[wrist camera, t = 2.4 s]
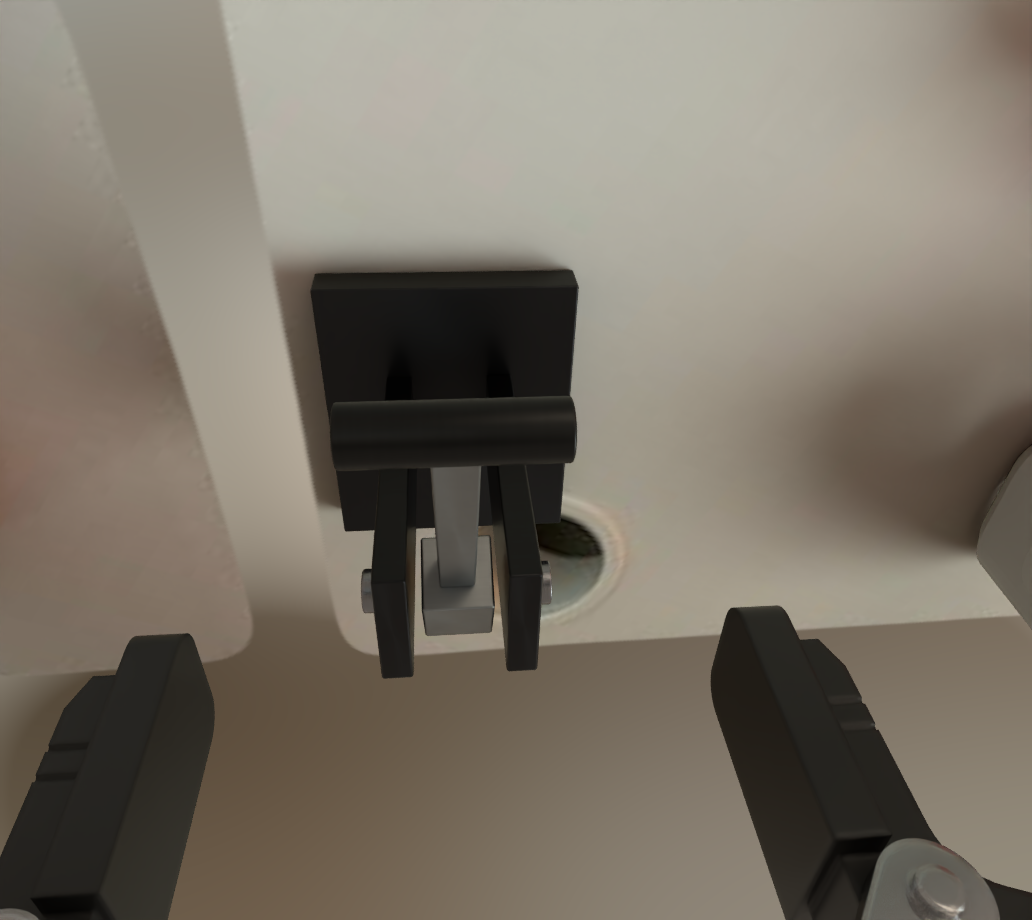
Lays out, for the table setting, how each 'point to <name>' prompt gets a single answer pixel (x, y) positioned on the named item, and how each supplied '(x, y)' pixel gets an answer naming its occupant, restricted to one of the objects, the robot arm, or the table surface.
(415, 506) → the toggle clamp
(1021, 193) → the table surface
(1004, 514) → the cable organizer
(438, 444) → the lever
